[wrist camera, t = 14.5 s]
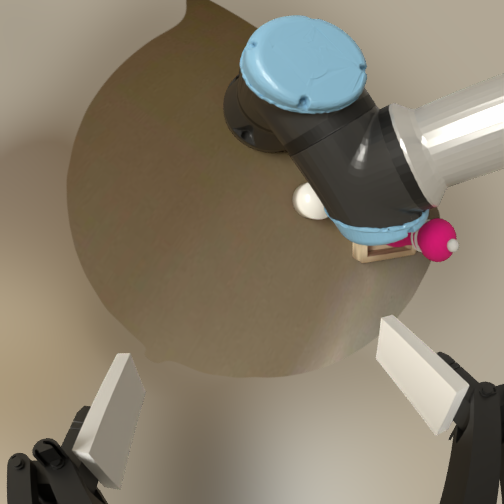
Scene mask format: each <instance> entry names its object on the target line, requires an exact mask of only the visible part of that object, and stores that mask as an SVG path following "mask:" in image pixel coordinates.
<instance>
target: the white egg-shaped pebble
mask: <svg viewBox="0 0 504 504" xmlns="http://www.w3.org/2000/svg"><path fill="white" fill-rule="evenodd" d="M292 202H293V206H294V209H295V210H296V212H297V213H298V214H299V215H301V216H302V217H305V218H311V219H324V218H327V217H328V216H327V214H326V213H325V211H324V206H323V204H322V203H321V201H320V200H319V198H318V197H317V195H316V194H315V192H314V190H313V189H312V187H311V186H310V184H309V183H308V182H307V183H303V184H301V185H299V186H298V187H297V188H296V189H295V191H294V193H293V198H292Z"/></svg>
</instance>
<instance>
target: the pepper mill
mask: <svg viewBox="0 0 504 504" xmlns="http://www.w3.org/2000/svg"><path fill="white" fill-rule="evenodd" d="M386 245H388V246H391V247H403V246H406V245H412V246H413V247H414V249H415V250H417V251H419V252H421V253H423V255H424V256H425V257H426V258H427V259H429V260H431V261H435V262H441V261H444V260H446V259H448V258H449V257H450V256H451V255H452V253H453V252H456V251H457V250H458V248H459V243H458V241H457V240H456V233H455V230H454V228H453V227H452V225H451V224H450V223H449V222H447V221H446V220H443V219H439V218H435V219H432V220H430V219H427V220H426V221H425V223H424V224H423V226H422V227H421V228H420V229H419V230H417V231H416V232H410V233H408V236H407V237H406V238H404V239H402V240H399V241H397V242H394V243H390V244H386Z"/></svg>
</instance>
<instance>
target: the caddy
mask: <svg viewBox="0 0 504 504" xmlns="http://www.w3.org/2000/svg"><path fill="white" fill-rule="evenodd" d="M415 251H416V250H415V249H414V247H413V246H412V245H406V246H403V247H391V246H388V245H378V246H366V245H360V244H356V243H354V242H353V257H354V258H355V259H357V260H358V261H360V262H361V263H367V262H373V261H379V260H385V259H391V258H397V257H403V256H409V255H414V254H415Z"/></svg>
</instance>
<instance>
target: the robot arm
mask: <svg viewBox="0 0 504 504" xmlns="http://www.w3.org/2000/svg"><path fill="white" fill-rule="evenodd" d="M366 67H367V65H366V61H365V58H364V56H363V53H362V52H361V50H360V48H359V47H358V45H357V44H356V43H355V41H354V40H353V39H352V38H351V37H350V36H349V35H348V34H346V33H345V32H344V31H343V30H341V29H340V28H338V27H337V26H335V25H333V24H331V23H329V22H326V21H323V20H321V19H311V18H308V17H306V16H298V15H296V16H285V17H280V18H277V19H274V20H271V21H269V22H267V23H266V24H264V25H262V26H261V27H260V28H258V29H257V30H256V31H255V32H254V33H253V34H252V36H251V37H250V39H249V41H248V43H247V45H246V47H245V49H244V51H243V53H242V57H241V59H240V71H239V74H238V75H237V76H236V77H235V78H234V79H233V81H232V82H231V83H230V85H229V87H228V88H227V91H226V93H225V97H224V108H223V109H224V117H225V120H226V123H227V125H228V127H229V129H230V131H231V132H232V134H233V135H234V136H235V137H236V138H237V139H238V140H239V141H240V142H242V143H243V144H245V145H246V146H248V147H250V148H253V149H255V150H258V151H263V152H280V151H284V150H286V151H287V152H288V153H289V155H290V157H291V158H292V159H293V161H294V162H295V164H296V165H297V167H298V168H299V170H300V171H301V173H302V174H303V175H304V177H305V178H306V180H307V181H308V183H309V184H310V186H311V187H312V189H313V190H314V192H315V194H316V195H317V197H318V198H319V200H320V201H321V203H322V204H323V206H324V211H325V213H326V214H327V216H328V217H329V218H330V219H331V220H332V221H333V222H334V223H335V225H336V226H337V228H338V229H339V231H340V232H341V234H342V235H343V236H344V237H346V238H347V239H348V240H350V241H351V242H354V243H356V244H360V245H366V246H378V245H386V244H390V243H394V242H397V241H399V240H402V239H404V238H406V237H407V236H408V233H410V232H416V231H417V230H419V229H420V228H421V227H422V226H423V224H424V223H425V221H426V220H427V218H428V215H429V209H430V208H433V207H436V206H438V205H439V204H440V202H441V200H442V197H443V195H444V193H445V190H446V189H447V188H448V187H450V186H453V185H456V184H459V183H462V182H465V181H468V180H471V179H474V178H477V177H480V176H483V175H486V174H489V173H492V172H495V171H498V170H501V169H504V73H503V74H500V75H498V76H495V77H492V78H489V79H487V80H484V81H482V82H479V83H477V84H474V85H472V86H469V87H466V88H464V89H461V90H459V91H456V92H454V93H452V94H449V95H447V96H444V97H442V98H440V99H437V100H435V101H433V102H430V103H428V104H426V105H424V106H421V107H419V108H417V109H409V108H407V107H404V106H402V105H399V104H396V103H393V104H390V105H388V106H386V107H384V108H382V109H379V108H378V107H377V106H376V105H375V103H374V101H373V100H372V98H371V97H370V95H369V93H368V92H367V90H366V89H365V88H364V86H365V84H366V80H367V74H366V73H365V69H366ZM376 359H377V361H378V362H379V363H380V364H381V366H382V367H383V368H384V369H385V371H386V372H387V373H388V374H389V376H390V377H391V378H392V379H393V381H394V382H395V383H396V385H397V386H398V387H399V389H400V390H401V391H402V392H403V394H404V395H405V396H406V398H407V399H408V400H409V401H410V403H411V404H412V405H413V406H414V408H415V409H416V411H417V412H418V413H419V414H420V416H421V417H422V418H423V420H424V421H425V422H426V424H427V425H428V426H429V428H430V429H431V430H432V432H433V433H434V434H435V436H437V435H439V434H440V433H442V432H444V431H446V430H448V429H449V427H450V425H451V423H452V421H454V422H455V423H456V426H455V428H454V430H453V432H452V433H451V435H450V437H449V440H451V438H452V437H453V443H452V451H451V457H450V462H449V467H448V472H447V476H446V481H445V485H444V489H443V493H442V497H441V501H440V504H496V503H497V496H498V488H499V479H500V485H501V494H502V504H504V384H502V385H499V386H495V385H494V384H492V383H490V382H481V383H478V382H477V381H476V380H475V379H474V378H473V377H472V376H471V375H470V374H469V373H468V372H466V371H465V370H464V369H463V368H462V367H460V365H459V364H458V363H455V361H454V360H453V359H452V358H451V357H450V356H449V355H447V354H444V353H442V352H438V353H435V352H434V351H433V350H432V349H431V348H429V347H428V346H427V345H426V344H425V343H424V342H423V341H421V339H420V338H418V337H417V336H416V335H415V334H414V333H413V332H412V331H411V330H409V329H408V328H407V327H406V326H405V325H404V324H403V323H402V322H400V321H399V320H398V319H397V318H396V317H395V316H394V315H390V316H386V317H382V318H381V324H380V332H379V340H378V348H377V354H376ZM145 393H146V392H145V389H144V387H143V385H142V382H141V380H140V377H139V375H138V372H137V370H136V367H135V364H134V362H133V359H132V356H131V354H130V353H118V354H117V355H116V357H115V359H114V361H113V363H112V365H111V367H110V369H109V371H108V373H107V375H106V377H105V379H104V381H103V383H102V385H101V387H100V389H99V391H98V393H97V395H96V398H95V399H94V402H93V403H92V406H91V407H90V406H84V407H83V408H82V409H81V410H80V411H78V412H77V414H76V416H75V418H74V420H73V421H74V422H73V423H72V425H71V427H70V429H69V431H68V433H67V435H66V437H65V439H64V442H63V444H62V446H61V447H60V445H59V444H58V443H57V442H56V441H55V440H53V439H49V438H46V439H42V440H40V441H38V442H37V443H36V444H35V445H34V448H33V456H34V457H35V458H36V459H37V460H38V461H31V460H30V459H29V458H28V456H27V455H25V454H23V453H17V454H14V455H13V456H11V458H10V459H9V461H8V465H7V502H8V504H108V503H107V501H106V500H105V498H104V496H103V495H102V493H101V492H100V490H99V489H98V488H97V484H98V481H99V482H100V483H101V484H102V485H103V486H104V487H107V488H113V489H119V490H120V489H121V486H122V481H123V477H124V472H125V468H126V464H127V460H128V456H129V452H130V448H131V444H132V440H133V436H134V433H135V428H136V425H137V421H138V417H139V414H140V410H141V407H142V404H143V400H144V397H145ZM453 435H454V436H453Z"/></svg>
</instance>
